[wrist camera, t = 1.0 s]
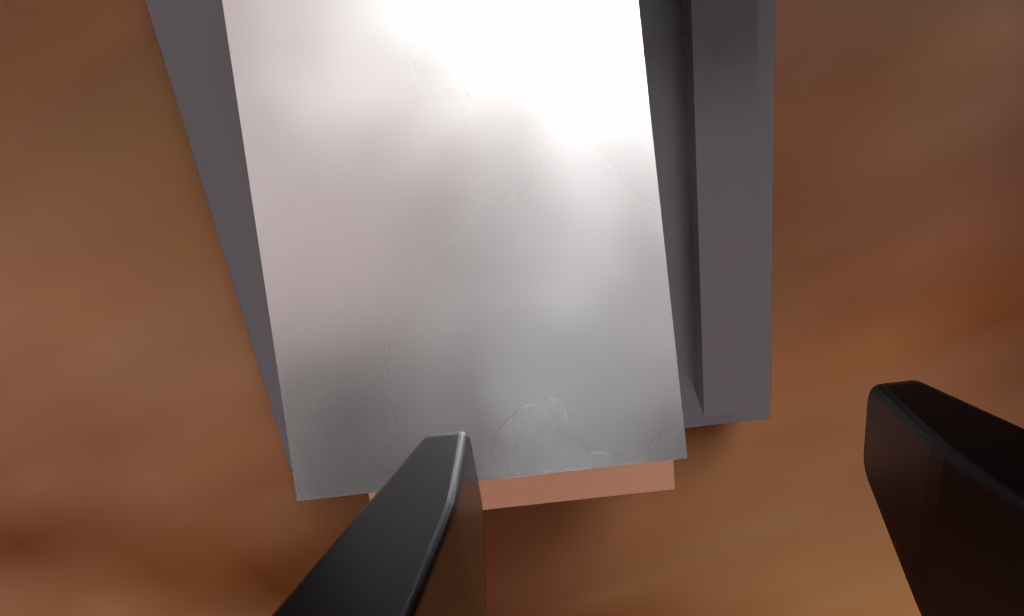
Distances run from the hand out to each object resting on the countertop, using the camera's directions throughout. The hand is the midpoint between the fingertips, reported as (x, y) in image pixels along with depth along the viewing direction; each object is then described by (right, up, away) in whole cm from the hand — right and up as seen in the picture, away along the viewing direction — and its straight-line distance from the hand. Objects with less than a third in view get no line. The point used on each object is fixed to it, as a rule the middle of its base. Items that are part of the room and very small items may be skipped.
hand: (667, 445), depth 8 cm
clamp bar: (-3, +8, +3) cm, 9 cm away
